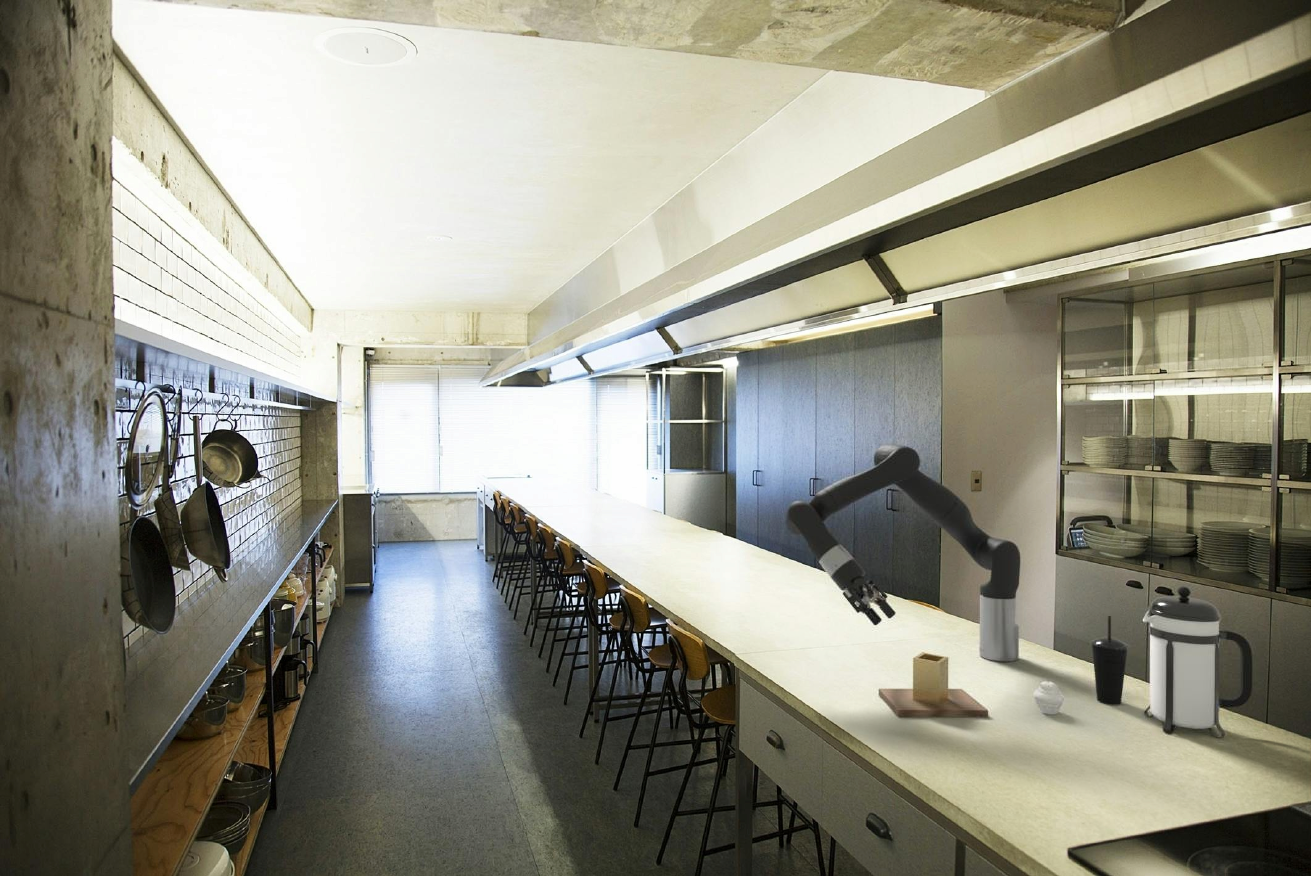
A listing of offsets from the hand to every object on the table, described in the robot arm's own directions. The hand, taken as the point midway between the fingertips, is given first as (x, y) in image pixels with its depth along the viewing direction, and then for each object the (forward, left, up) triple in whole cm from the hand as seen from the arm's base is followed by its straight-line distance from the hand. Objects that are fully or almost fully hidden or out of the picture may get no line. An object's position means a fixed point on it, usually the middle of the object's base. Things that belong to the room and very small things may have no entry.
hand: (886, 619), depth 181 cm
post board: (-8, +9, -18) cm, 21 cm away
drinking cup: (-51, +6, -18) cm, 54 cm away
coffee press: (-59, +21, -18) cm, 65 cm away
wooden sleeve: (-8, +9, -16) cm, 20 cm away
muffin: (-33, +13, -18) cm, 39 cm away
